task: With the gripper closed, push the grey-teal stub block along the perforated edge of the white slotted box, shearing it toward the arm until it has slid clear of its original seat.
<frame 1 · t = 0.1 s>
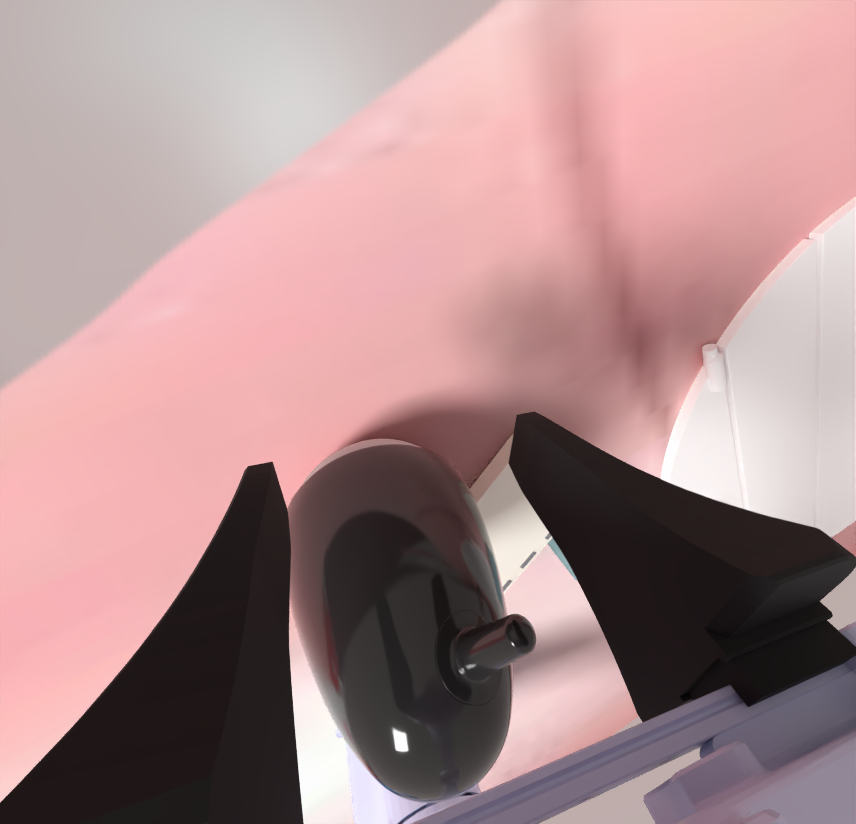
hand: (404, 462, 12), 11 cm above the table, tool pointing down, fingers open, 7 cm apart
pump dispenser: (370, 482, 25), on the table
lazy susan: (830, 407, 37), on the table
white slotted box: (487, 533, 30), on the table
stub: (599, 542, 31), point 2 cm above the table, slide at 0.0 cm
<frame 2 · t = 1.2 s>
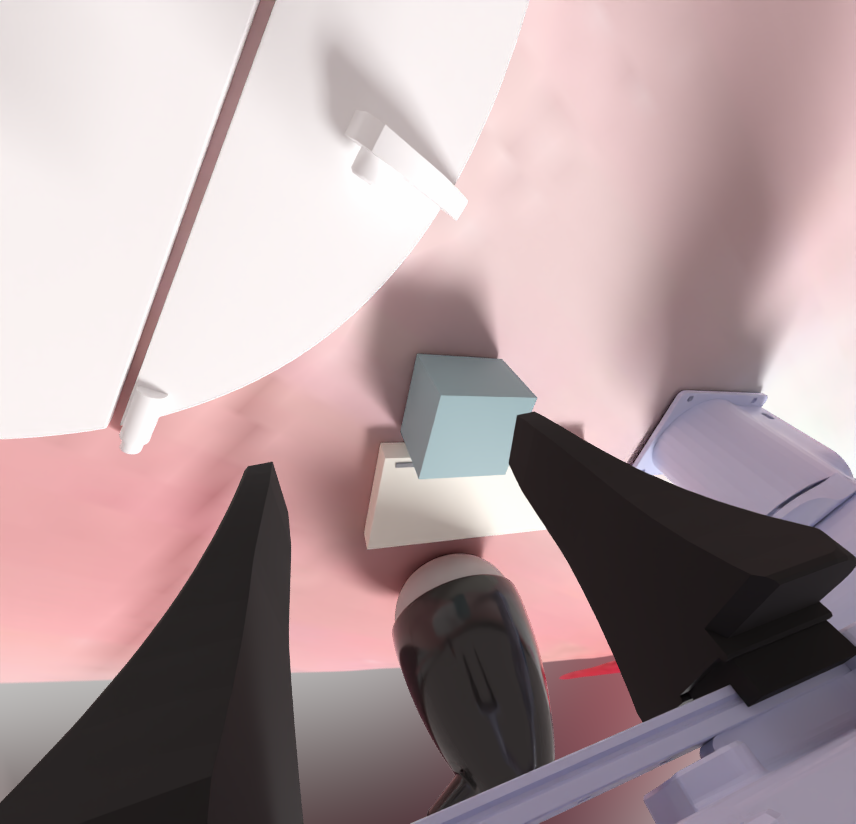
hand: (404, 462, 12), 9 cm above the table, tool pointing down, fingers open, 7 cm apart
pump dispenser: (439, 572, 34), on the table
white slotted box: (476, 485, 28), on the table
stub: (462, 416, 21), point 2 cm above the table, slide at 0.0 cm
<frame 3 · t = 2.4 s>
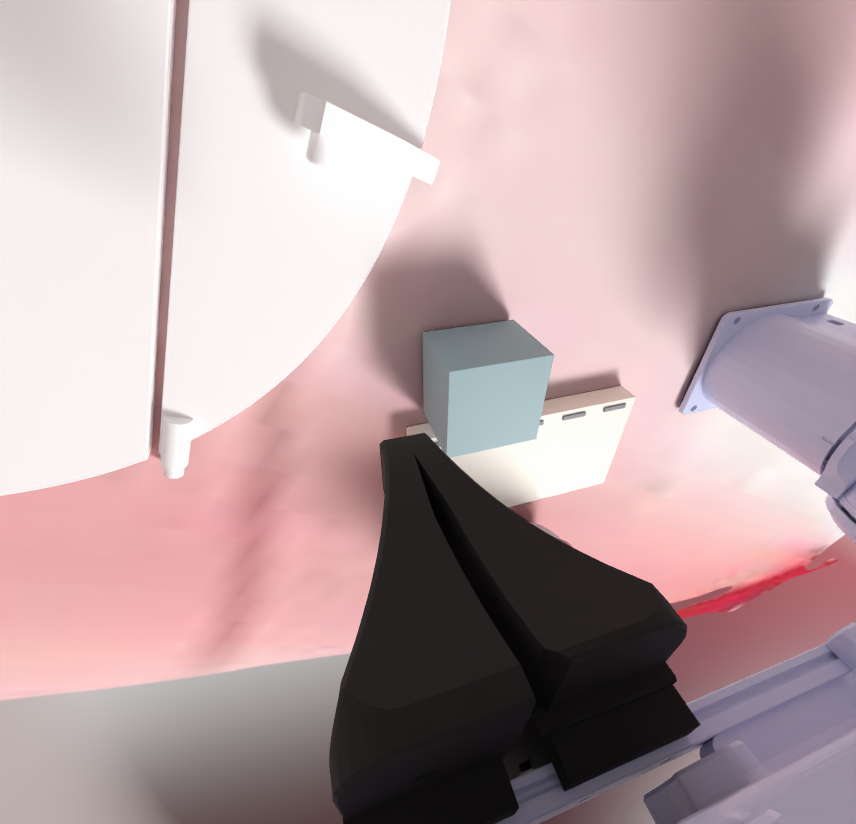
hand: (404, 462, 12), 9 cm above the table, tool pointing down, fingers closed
white slotted box: (513, 452, 28), on the table
stub: (480, 387, 20), point 2 cm above the table, slide at 0.0 cm
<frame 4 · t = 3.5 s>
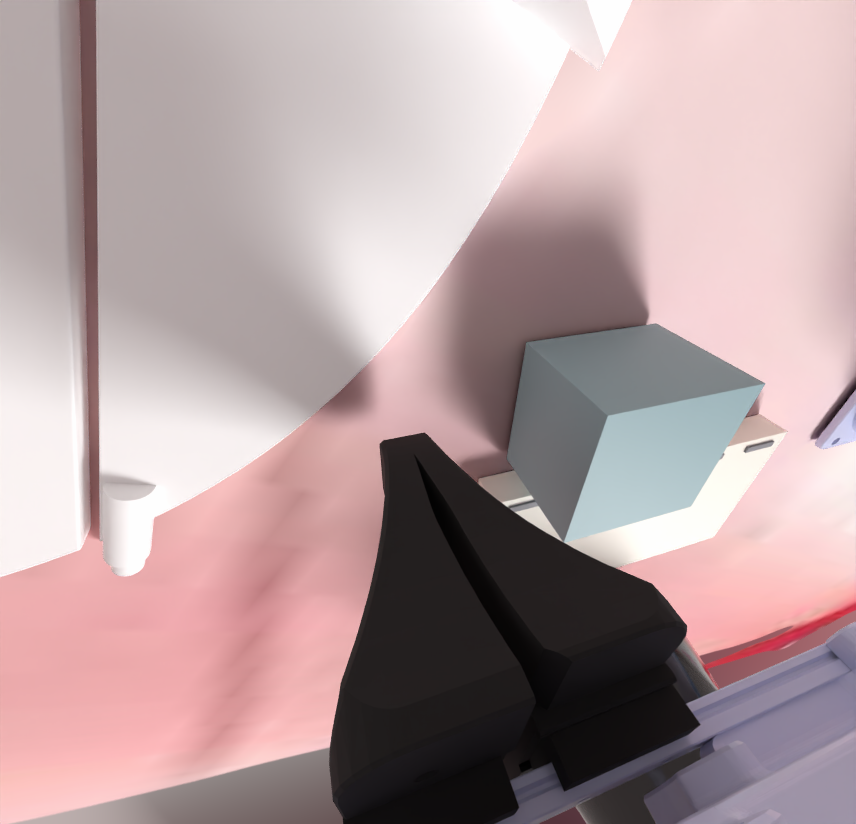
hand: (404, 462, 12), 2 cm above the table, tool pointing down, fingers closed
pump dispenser: (560, 605, 27), on the table
white slotted box: (608, 502, 20), on the table
stub: (612, 427, 13), point 2 cm above the table, slide at 0.0 cm
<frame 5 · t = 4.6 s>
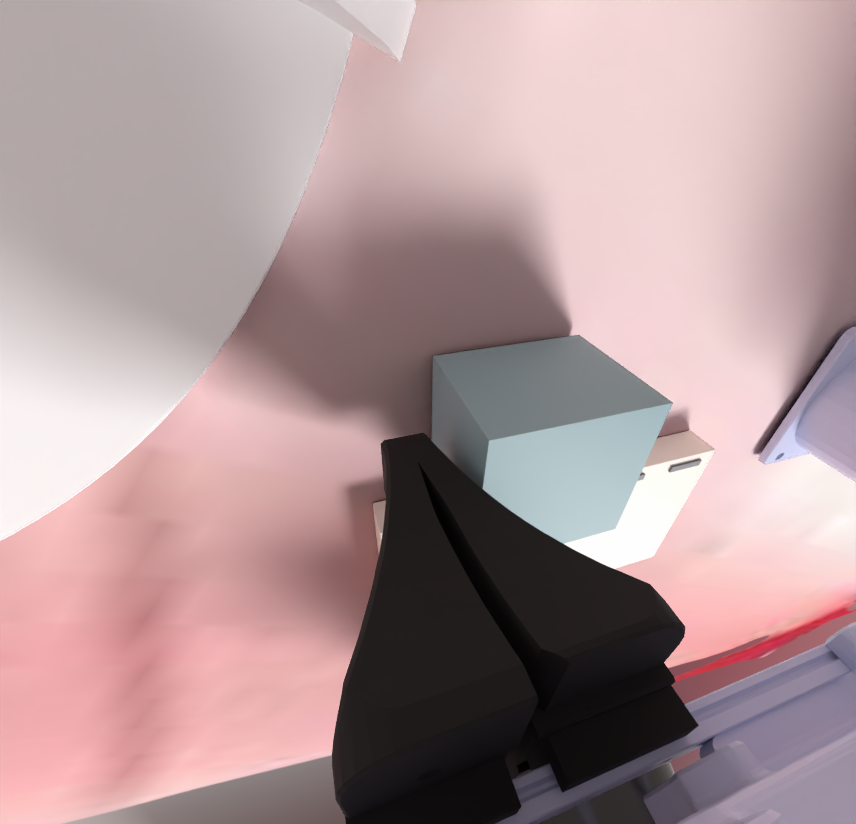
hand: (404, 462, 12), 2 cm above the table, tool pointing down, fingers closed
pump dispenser: (501, 624, 26), on the table
white slotted box: (533, 523, 19), on the table
stub: (528, 446, 12), point 2 cm above the table, slide at 1.2 cm, touching gripper
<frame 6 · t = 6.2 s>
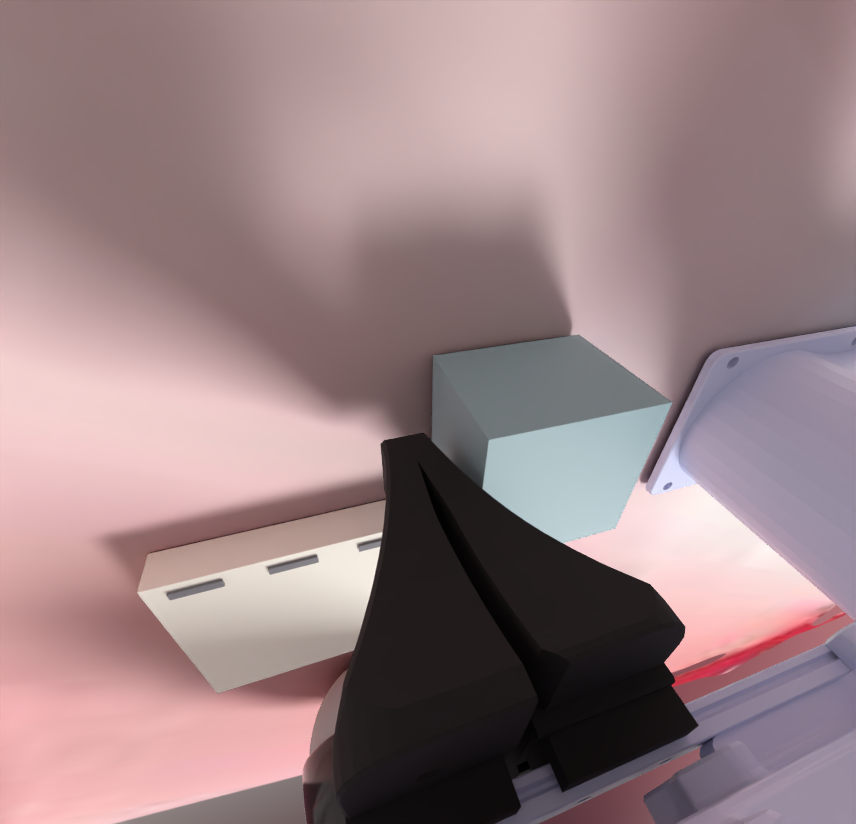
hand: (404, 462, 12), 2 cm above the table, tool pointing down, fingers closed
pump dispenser: (386, 662, 24), on the table
white slotted box: (379, 563, 17), on the table
stub: (528, 445, 12), point 2 cm above the table, slide at 8.7 cm, touching gripper
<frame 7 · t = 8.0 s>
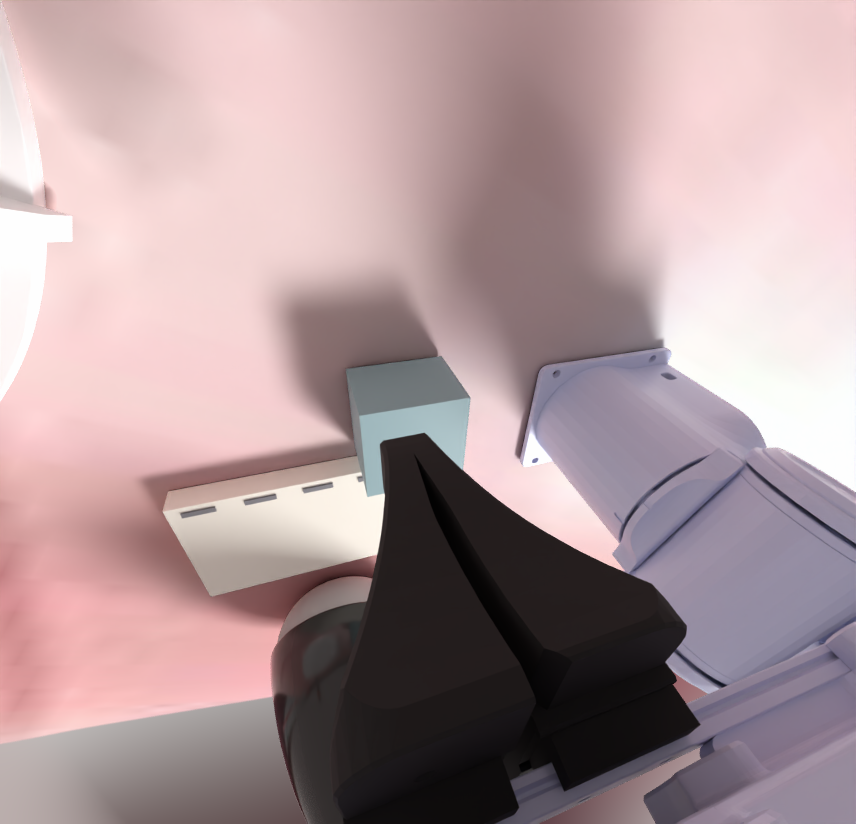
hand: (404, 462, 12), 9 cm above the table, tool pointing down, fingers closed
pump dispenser: (338, 595, 32), on the table
white slotted box: (324, 509, 25), on the table
stub: (405, 424, 20), point 2 cm above the table, slide at 8.8 cm
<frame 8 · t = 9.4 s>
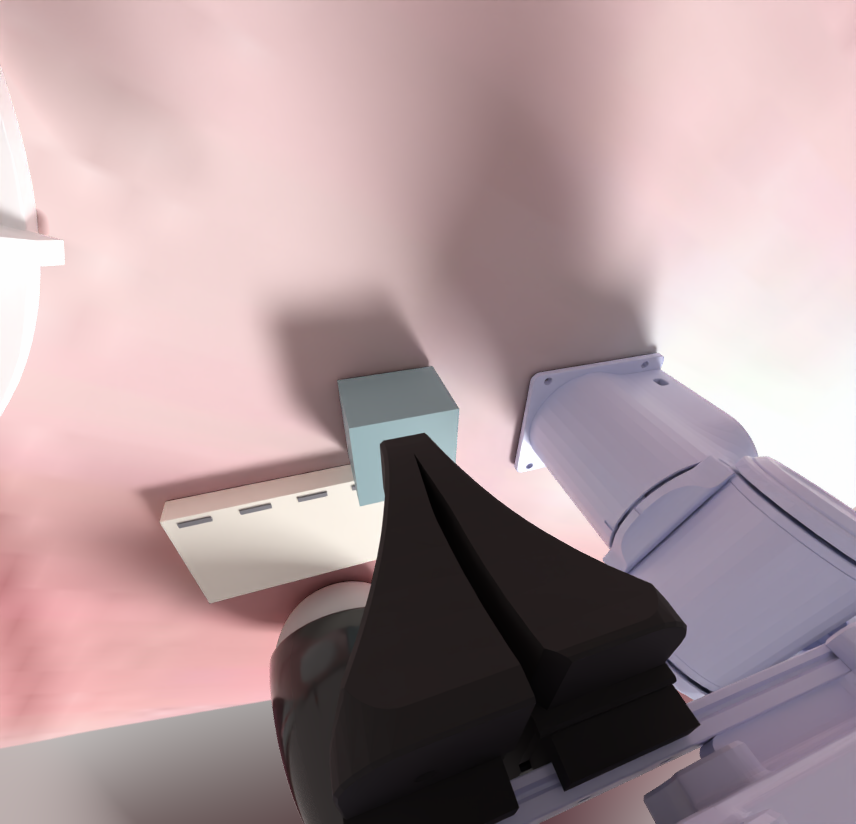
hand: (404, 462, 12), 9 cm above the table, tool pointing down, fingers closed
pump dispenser: (337, 599, 32), on the table
white slotted box: (319, 517, 26), on the table
stub: (397, 434, 21), point 2 cm above the table, slide at 8.8 cm
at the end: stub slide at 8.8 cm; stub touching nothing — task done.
